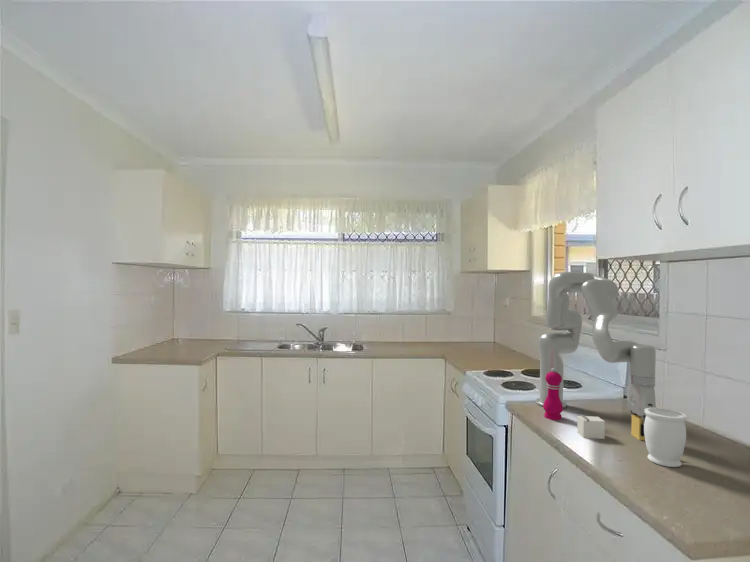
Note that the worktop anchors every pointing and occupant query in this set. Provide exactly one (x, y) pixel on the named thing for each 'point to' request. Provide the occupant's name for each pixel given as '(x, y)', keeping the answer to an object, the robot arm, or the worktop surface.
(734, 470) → the worktop surface
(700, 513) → the worktop surface
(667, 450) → the jar
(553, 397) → the pepper mill
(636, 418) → the stub
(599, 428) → the ticket
